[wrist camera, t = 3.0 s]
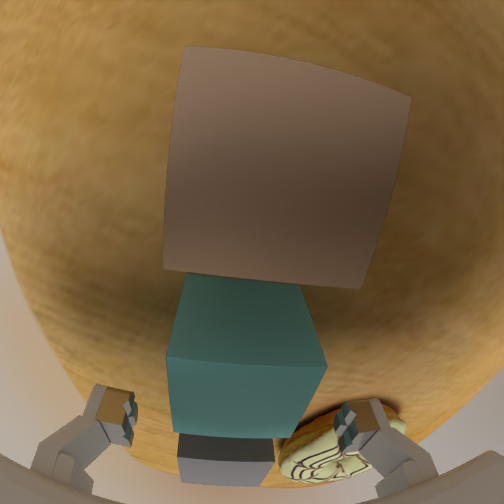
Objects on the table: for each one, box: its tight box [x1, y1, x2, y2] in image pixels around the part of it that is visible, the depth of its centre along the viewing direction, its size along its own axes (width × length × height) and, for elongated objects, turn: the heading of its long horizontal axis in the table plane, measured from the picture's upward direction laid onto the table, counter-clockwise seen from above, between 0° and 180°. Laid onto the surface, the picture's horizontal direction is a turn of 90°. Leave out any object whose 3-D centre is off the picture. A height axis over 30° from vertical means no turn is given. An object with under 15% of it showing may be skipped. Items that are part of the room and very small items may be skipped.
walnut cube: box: [163, 46, 412, 290], centre depth 8 cm, size 5×5×5 cm
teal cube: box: [166, 273, 328, 438], centre depth 12 cm, size 5×5×5 cm
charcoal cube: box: [177, 433, 275, 486], centre depth 15 cm, size 5×5×5 cm
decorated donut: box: [278, 403, 406, 483], centre depth 18 cm, size 10×11×4 cm
